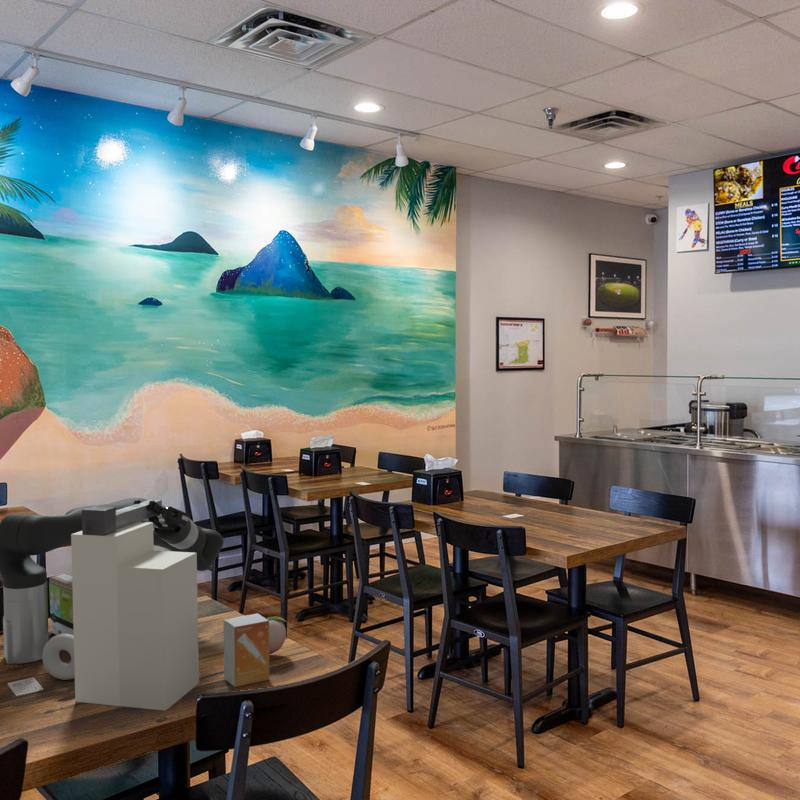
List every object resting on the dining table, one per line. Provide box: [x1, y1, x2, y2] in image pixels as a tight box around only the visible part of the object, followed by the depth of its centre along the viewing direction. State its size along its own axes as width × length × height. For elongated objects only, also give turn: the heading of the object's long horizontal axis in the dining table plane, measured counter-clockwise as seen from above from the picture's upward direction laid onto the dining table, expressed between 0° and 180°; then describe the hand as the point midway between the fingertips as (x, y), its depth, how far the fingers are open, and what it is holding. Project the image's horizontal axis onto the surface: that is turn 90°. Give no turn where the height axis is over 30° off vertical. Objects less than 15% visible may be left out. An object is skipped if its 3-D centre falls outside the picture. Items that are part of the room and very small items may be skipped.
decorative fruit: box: [265, 613, 287, 656], centre depth 189 cm, size 9×8×10 cm
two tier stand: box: [70, 522, 200, 712], centre depth 169 cm, size 14×20×34 cm
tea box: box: [48, 571, 74, 636], centre depth 205 cm, size 15×10×15 cm, turn 49°
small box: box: [222, 613, 270, 688], centre depth 176 cm, size 8×6×13 cm
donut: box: [41, 633, 75, 681], centre depth 177 cm, size 10×4×10 cm, turn 82°
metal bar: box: [82, 499, 163, 536], centre depth 174 cm, size 24×5×5 cm, turn 167°
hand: (142, 504), depth 180 cm, fingers closed on metal bar, 3 cm apart
